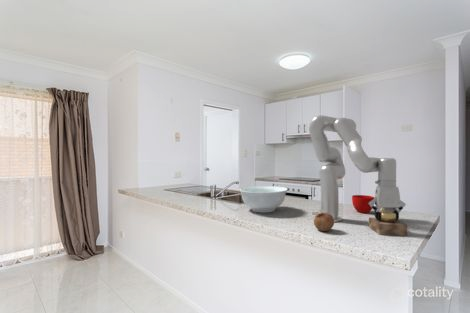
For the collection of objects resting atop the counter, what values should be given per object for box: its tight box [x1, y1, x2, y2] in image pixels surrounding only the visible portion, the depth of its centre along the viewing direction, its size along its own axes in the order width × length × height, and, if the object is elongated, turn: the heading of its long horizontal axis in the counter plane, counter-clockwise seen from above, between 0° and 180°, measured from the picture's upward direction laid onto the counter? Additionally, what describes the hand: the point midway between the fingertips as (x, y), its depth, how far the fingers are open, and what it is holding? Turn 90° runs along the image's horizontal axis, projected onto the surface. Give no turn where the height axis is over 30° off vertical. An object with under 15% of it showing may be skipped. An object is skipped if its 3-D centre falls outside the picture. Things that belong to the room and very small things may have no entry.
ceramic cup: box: [351, 194, 376, 214], centre depth 163 cm, size 13×17×10 cm
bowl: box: [239, 185, 288, 214], centre depth 169 cm, size 32×32×15 cm
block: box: [368, 217, 408, 237], centre depth 123 cm, size 12×12×5 cm
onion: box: [313, 213, 335, 232], centre depth 124 cm, size 10×9×10 cm
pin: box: [379, 209, 396, 223], centre depth 123 cm, size 8×8×8 cm
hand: (386, 219), depth 123 cm, fingers closed on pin, 7 cm apart
